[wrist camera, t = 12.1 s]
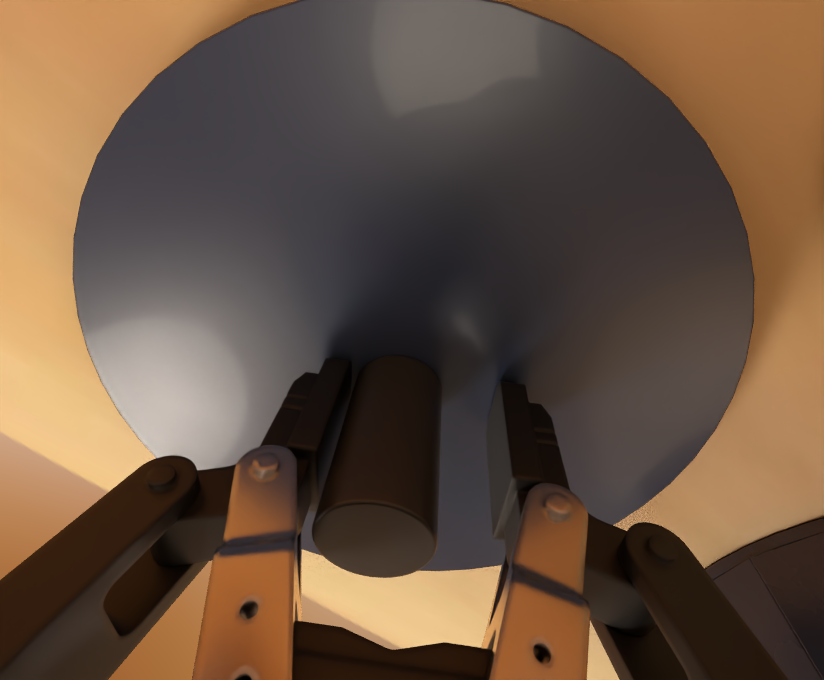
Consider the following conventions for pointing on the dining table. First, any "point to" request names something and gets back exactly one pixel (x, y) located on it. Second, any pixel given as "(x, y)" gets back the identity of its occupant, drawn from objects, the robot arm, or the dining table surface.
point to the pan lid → (415, 263)
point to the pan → (781, 596)
